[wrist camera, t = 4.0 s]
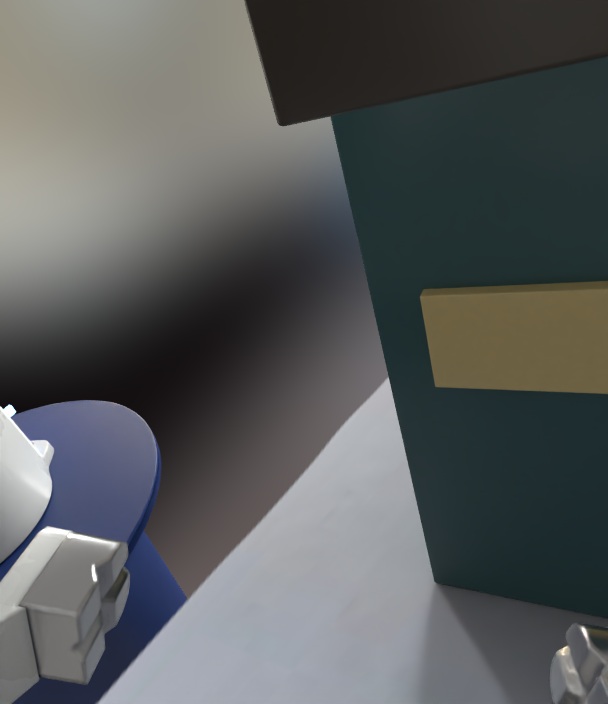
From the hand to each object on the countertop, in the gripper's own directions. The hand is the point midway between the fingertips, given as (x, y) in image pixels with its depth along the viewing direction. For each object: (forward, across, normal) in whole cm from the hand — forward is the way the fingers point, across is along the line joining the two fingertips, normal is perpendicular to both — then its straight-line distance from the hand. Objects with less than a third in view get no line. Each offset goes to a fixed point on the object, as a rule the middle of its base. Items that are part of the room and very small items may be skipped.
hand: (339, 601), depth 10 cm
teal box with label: (+16, +13, -12) cm, 24 cm away
